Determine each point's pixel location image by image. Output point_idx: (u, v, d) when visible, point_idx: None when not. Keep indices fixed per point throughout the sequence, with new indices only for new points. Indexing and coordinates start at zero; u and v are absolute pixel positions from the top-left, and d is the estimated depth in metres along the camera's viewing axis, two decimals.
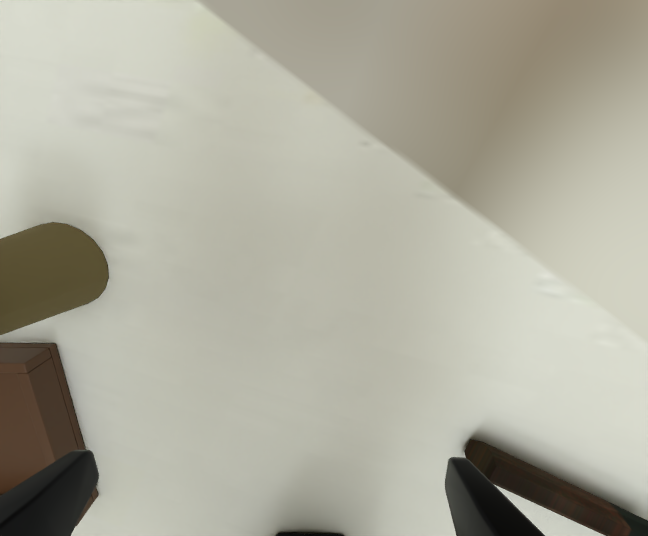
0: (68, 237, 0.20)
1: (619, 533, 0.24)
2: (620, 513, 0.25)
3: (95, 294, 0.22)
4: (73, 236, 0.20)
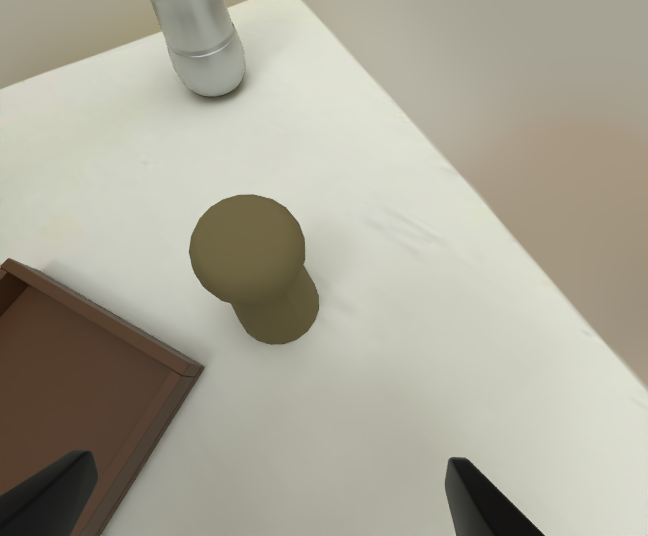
0: (312, 282, 0.23)
1: None
2: None
3: (290, 338, 0.22)
4: (313, 284, 0.23)
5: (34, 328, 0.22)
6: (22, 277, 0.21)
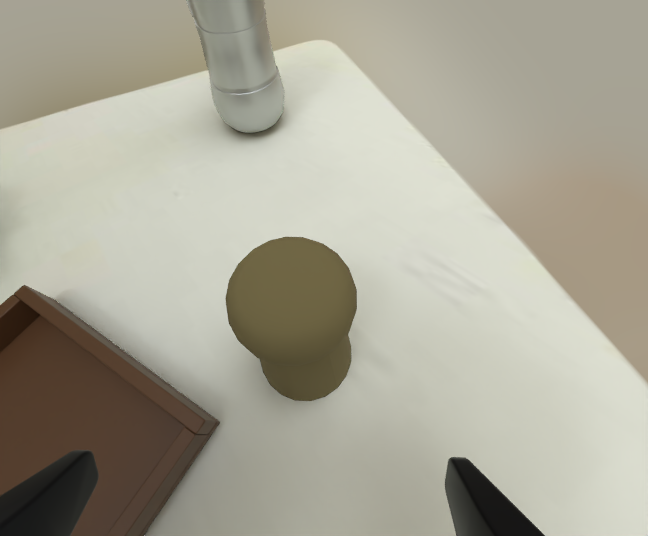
0: None
1: None
2: None
3: (319, 395, 0.19)
4: None
5: (39, 363, 0.20)
6: (35, 307, 0.20)
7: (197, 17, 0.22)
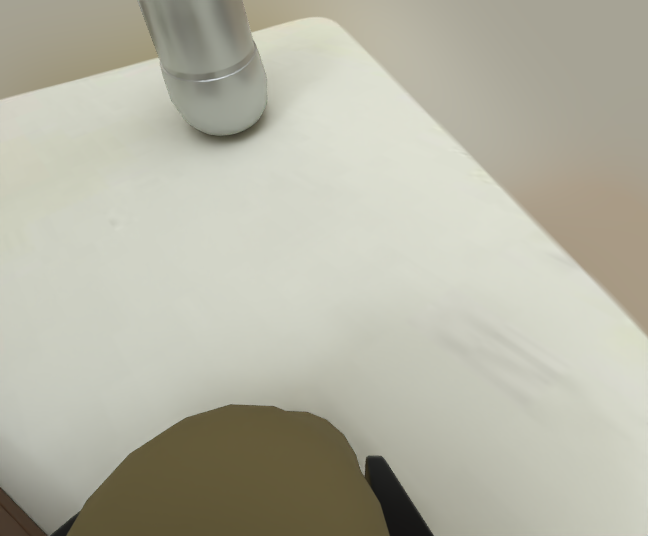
0: (356, 463, 0.13)
1: None
2: None
3: None
4: (357, 463, 0.13)
5: None
6: None
7: None
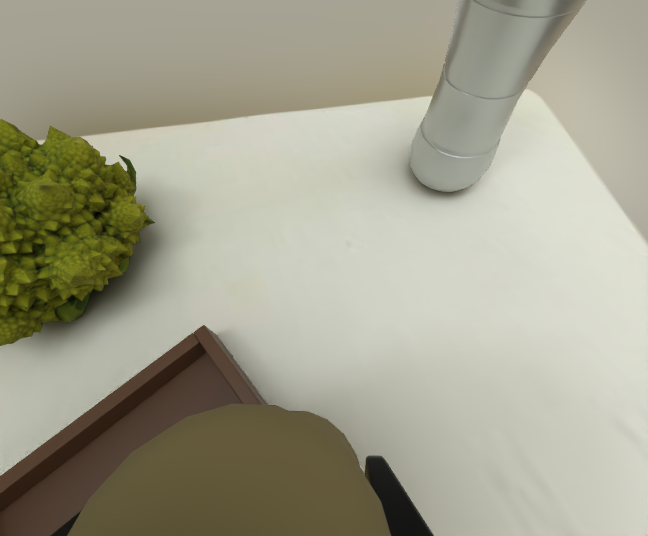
0: (356, 462, 0.13)
1: None
2: None
3: None
4: (357, 463, 0.13)
5: (199, 411, 0.19)
6: (213, 356, 0.19)
7: (457, 75, 0.19)
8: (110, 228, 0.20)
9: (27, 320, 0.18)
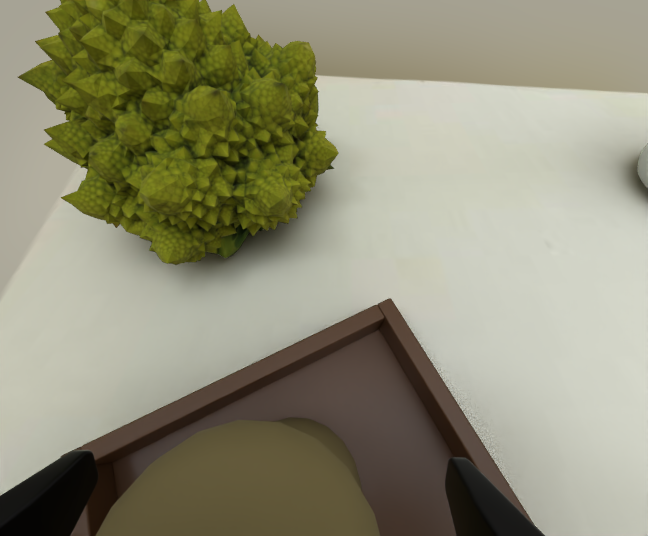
0: (354, 469, 0.13)
1: None
2: None
3: None
4: (355, 469, 0.13)
5: (364, 401, 0.15)
6: (402, 339, 0.15)
7: None
8: (300, 160, 0.17)
9: (200, 242, 0.16)
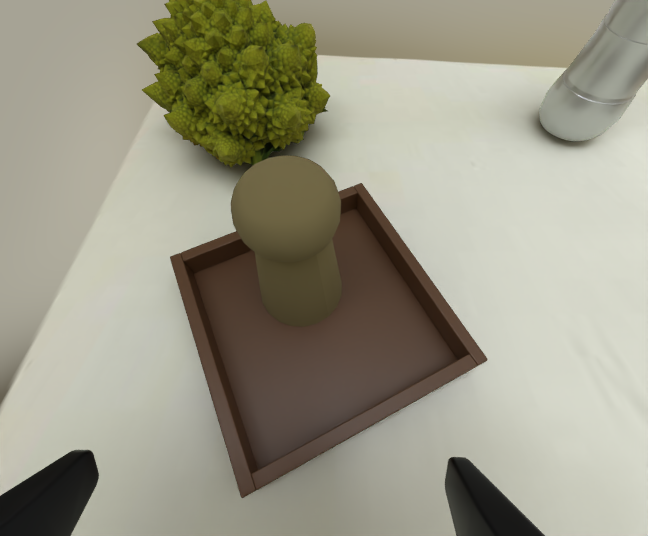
0: None
1: None
2: None
3: (312, 320, 0.22)
4: None
5: (345, 244, 0.25)
6: (367, 203, 0.24)
7: (620, 19, 0.23)
8: (305, 101, 0.27)
9: (243, 148, 0.25)
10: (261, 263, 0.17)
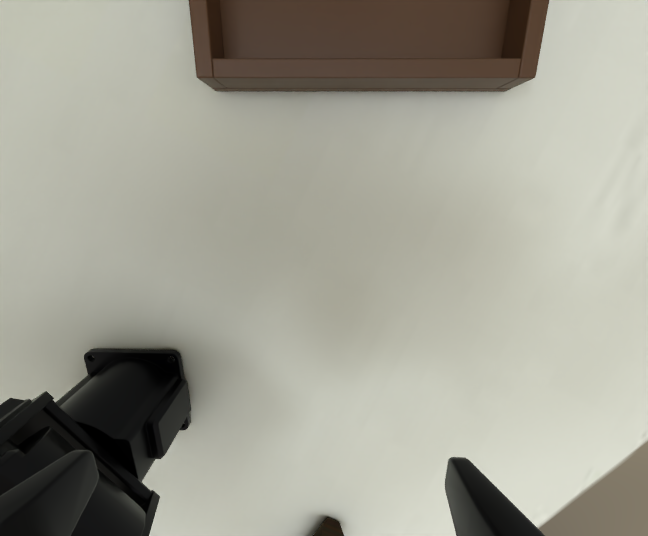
0: None
1: None
2: None
3: None
4: None
5: None
6: None
7: None
8: None
9: None
10: None
